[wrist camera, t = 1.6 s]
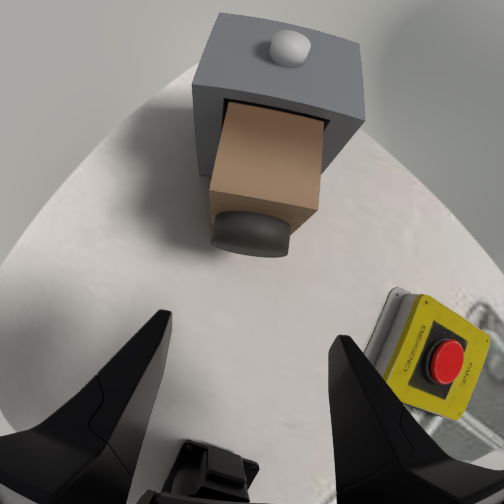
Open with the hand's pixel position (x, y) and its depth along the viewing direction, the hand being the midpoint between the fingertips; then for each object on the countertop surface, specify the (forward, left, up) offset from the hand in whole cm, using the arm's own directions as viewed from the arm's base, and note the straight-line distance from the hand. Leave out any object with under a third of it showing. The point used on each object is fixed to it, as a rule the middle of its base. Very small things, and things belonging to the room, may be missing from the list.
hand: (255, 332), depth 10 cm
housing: (+13, +4, -13) cm, 19 cm away
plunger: (+7, +2, -13) cm, 15 cm away
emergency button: (+3, -19, -14) cm, 24 cm away
